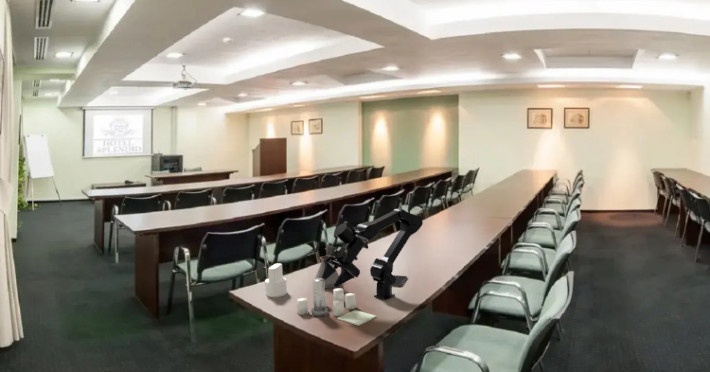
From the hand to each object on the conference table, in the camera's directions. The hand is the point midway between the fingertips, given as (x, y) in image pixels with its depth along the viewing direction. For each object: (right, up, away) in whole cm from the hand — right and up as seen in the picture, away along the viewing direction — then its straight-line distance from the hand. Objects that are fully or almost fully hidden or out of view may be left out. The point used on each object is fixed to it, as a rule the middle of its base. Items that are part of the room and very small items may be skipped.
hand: (328, 283), depth 172 cm
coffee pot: (-2, -8, +38) cm, 39 cm away
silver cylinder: (-3, -11, -1) cm, 11 cm away
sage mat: (+11, -11, -7) cm, 17 cm away
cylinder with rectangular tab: (-24, -10, +24) cm, 35 cm away
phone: (+29, -8, +37) cm, 48 cm away
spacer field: (+1, -11, +3) cm, 11 cm away
